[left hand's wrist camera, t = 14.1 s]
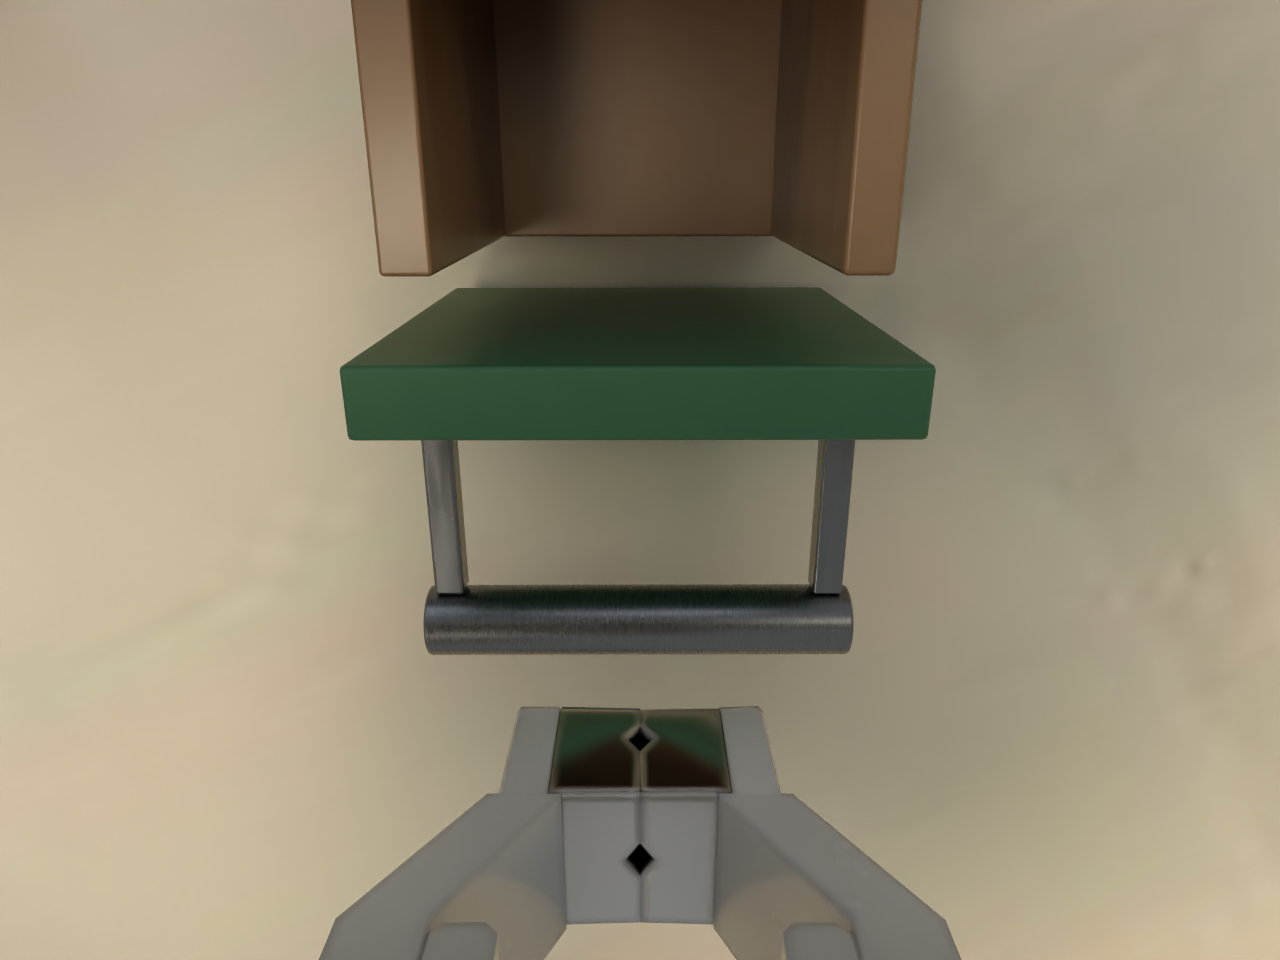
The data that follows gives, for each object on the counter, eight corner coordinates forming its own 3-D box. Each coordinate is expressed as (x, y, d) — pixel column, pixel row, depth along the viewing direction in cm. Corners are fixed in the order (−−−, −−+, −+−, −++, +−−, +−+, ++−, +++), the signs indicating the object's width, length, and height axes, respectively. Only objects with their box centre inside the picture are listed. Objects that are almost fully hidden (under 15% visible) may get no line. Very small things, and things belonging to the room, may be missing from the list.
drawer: (803, 541, 24) (892, 744, 15) (474, 542, 24) (385, 744, 15) (862, -293, 17) (1069, -714, 9) (410, -292, 17) (200, -714, 9)
